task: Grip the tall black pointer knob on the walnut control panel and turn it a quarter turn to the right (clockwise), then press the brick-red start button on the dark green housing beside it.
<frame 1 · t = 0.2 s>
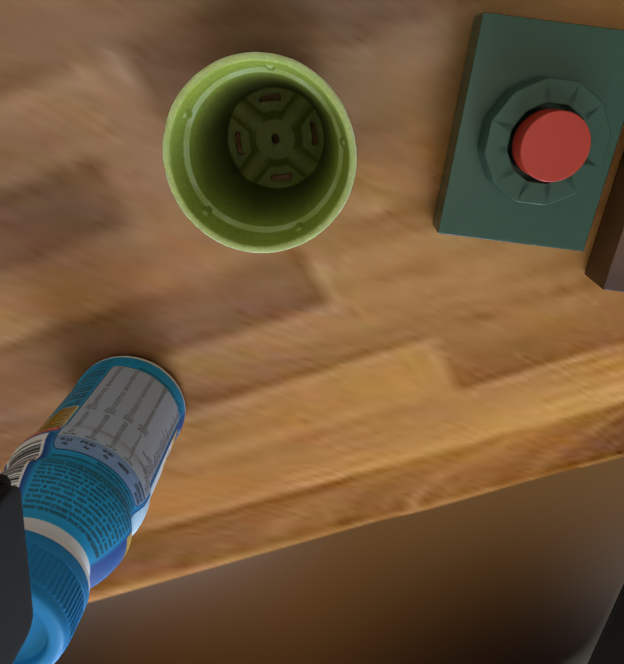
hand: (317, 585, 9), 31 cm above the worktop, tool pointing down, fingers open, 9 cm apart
plant pot: (276, 139, 37), on the worktop
start button: (550, 145, 32), point 4 cm above the worktop, slide at 0.1 cm
beverage bottle: (134, 399, 45), on the worktop
button box: (526, 136, 36), on the worktop
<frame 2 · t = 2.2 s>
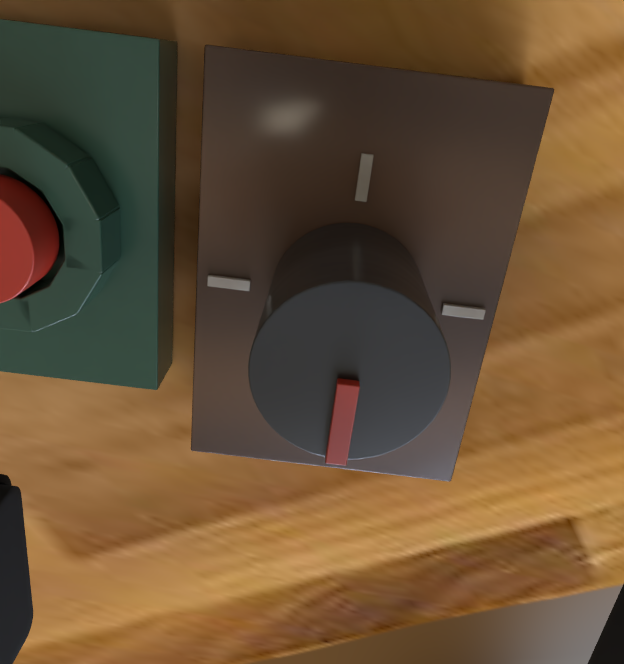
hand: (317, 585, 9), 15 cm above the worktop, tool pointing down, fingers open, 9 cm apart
dial: (347, 333, 17), point 6 cm above the worktop, hinge at 0.0°
dial panel: (345, 267, 22), on the worktop
button box: (53, 206, 22), on the worktop
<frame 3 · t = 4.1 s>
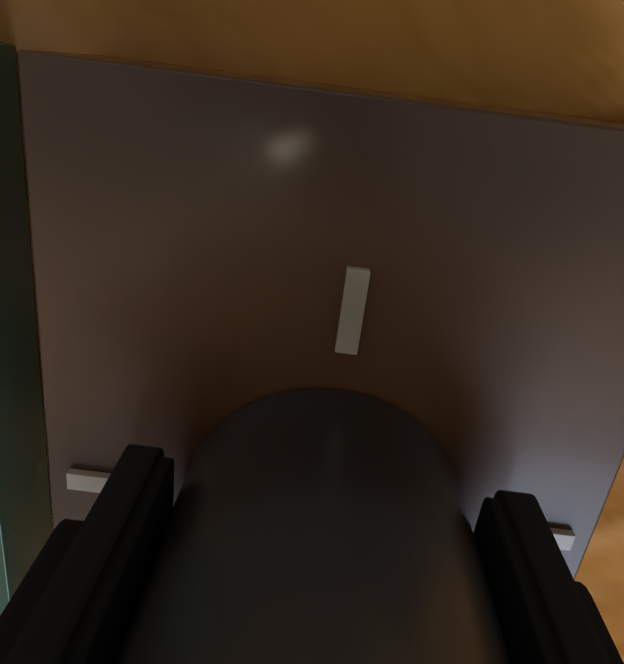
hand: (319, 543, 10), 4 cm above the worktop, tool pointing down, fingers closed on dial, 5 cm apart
dial: (314, 651, 8), point 6 cm above the worktop, hinge at 0.0°, touching gripper
dial panel: (324, 418, 14), on the worktop
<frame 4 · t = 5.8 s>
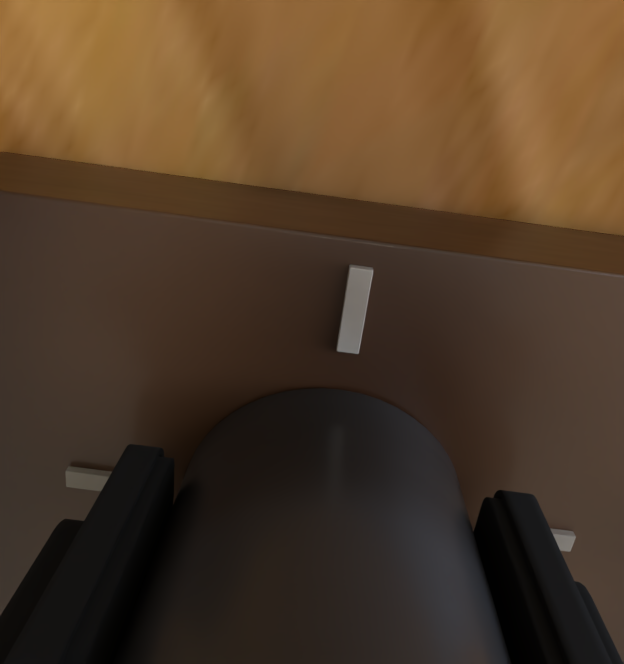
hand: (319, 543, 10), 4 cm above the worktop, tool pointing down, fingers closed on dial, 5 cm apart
dial: (314, 651, 8), point 6 cm above the worktop, hinge at -90.5°, touching gripper
dial panel: (324, 417, 13), on the worktop
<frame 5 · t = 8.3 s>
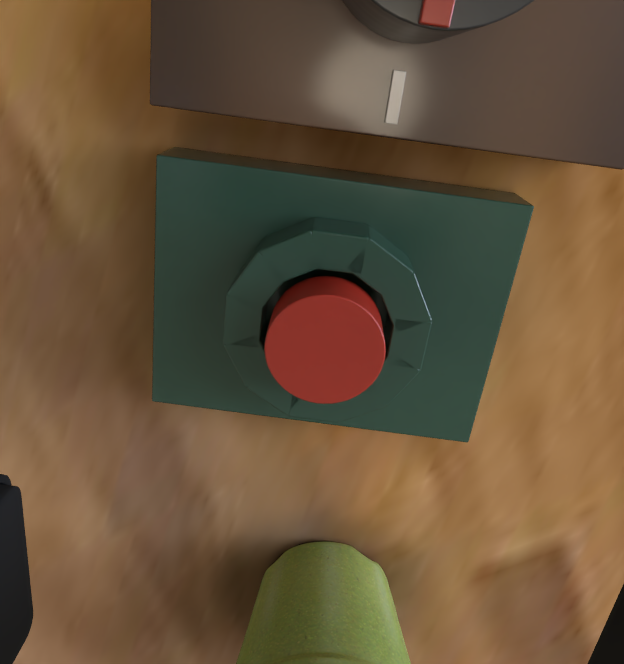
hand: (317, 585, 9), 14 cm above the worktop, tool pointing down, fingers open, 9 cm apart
plant pot: (326, 583, 29), on the worktop
start button: (325, 339, 18), point 4 cm above the worktop, slide at 0.1 cm
button box: (327, 290, 22), on the worktop
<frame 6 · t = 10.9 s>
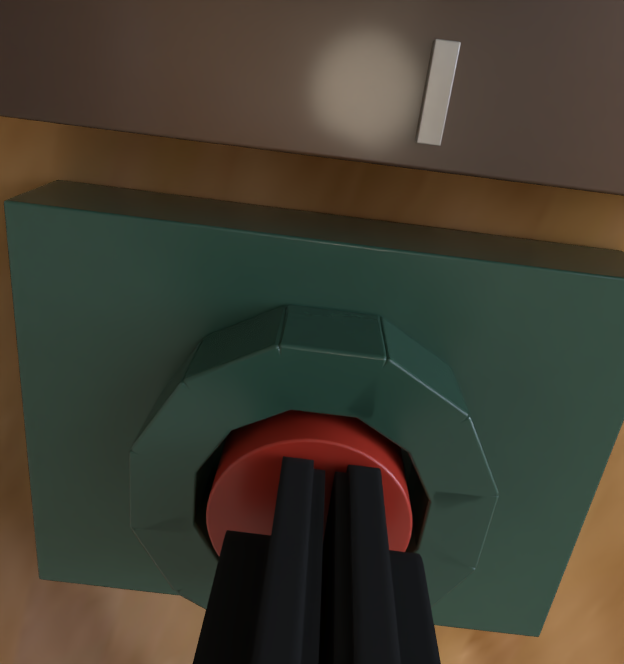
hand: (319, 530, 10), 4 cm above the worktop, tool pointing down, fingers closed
start button: (310, 493, 11), point 3 cm above the worktop, slide at -0.9 cm, touching gripper
button box: (316, 399, 14), on the worktop
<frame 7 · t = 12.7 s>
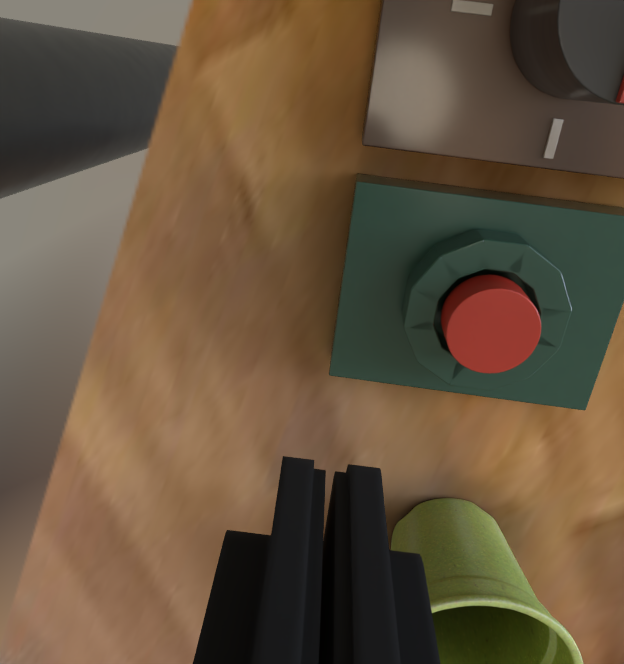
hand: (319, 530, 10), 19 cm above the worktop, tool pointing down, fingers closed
plant pot: (446, 535, 34), on the worktop
dial: (617, 13, 18), point 6 cm above the worktop, hinge at -90.8°
start button: (488, 323, 24), point 4 cm above the worktop, slide at 0.1 cm
dial panel: (557, 28, 23), on the worktop
button box: (469, 287, 28), on the worktop
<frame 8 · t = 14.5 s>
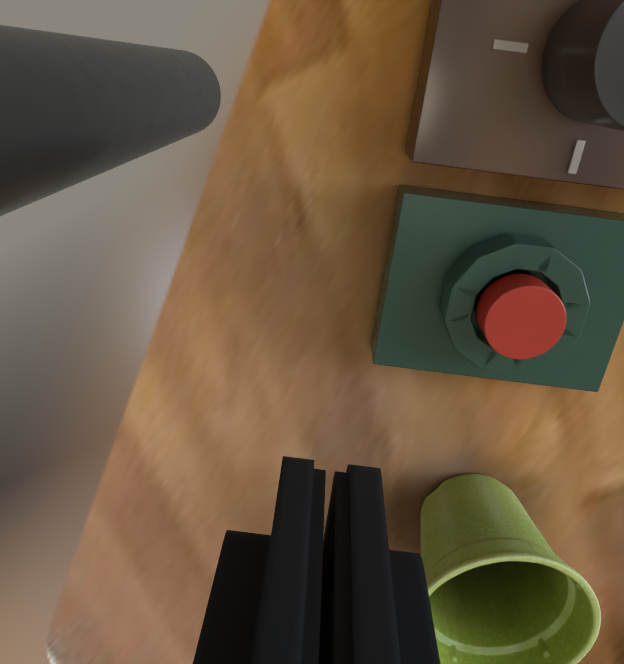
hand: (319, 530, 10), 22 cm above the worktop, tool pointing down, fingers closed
plant pot: (469, 508, 38), on the worktop
start button: (519, 316, 27), point 4 cm above the worktop, slide at 0.1 cm
dial panel: (577, 60, 27), on the worktop
button box: (496, 284, 31), on the worktop
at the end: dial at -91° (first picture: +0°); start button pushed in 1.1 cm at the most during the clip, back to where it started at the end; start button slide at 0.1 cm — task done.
